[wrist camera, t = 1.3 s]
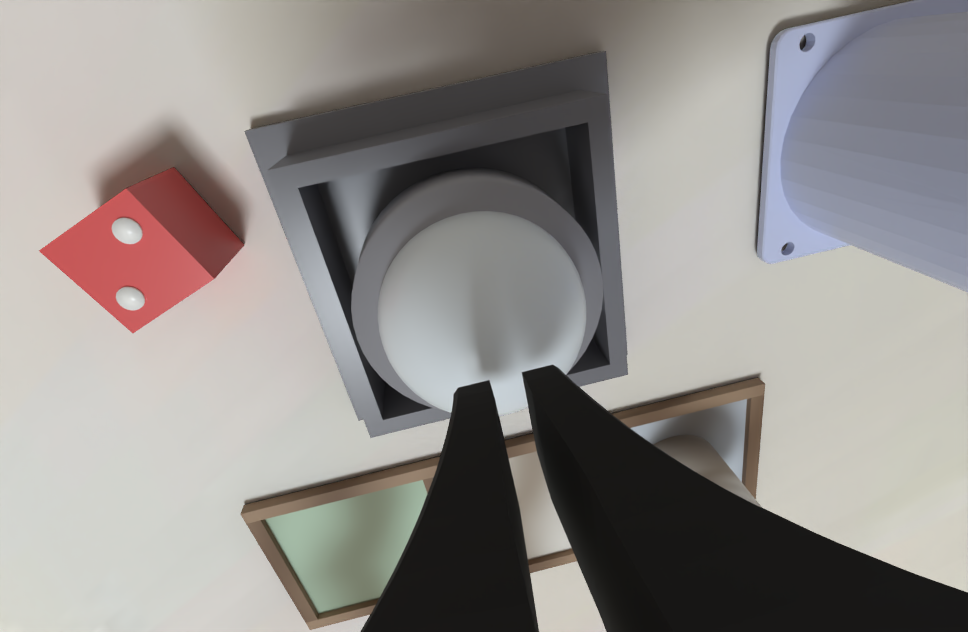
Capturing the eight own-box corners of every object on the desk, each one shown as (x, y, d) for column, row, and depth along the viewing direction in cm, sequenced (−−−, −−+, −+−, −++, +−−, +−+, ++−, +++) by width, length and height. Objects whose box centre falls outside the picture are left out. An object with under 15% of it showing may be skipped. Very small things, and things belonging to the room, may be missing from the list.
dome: (562, 140, 15) (641, 178, 10) (585, 341, 18) (653, 446, 13) (327, 193, 15) (287, 260, 10) (393, 388, 18) (389, 513, 13)
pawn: (717, 425, 23) (836, 561, 17) (715, 492, 25) (821, 637, 19) (625, 448, 23) (710, 595, 17) (630, 514, 25) (708, 668, 19)
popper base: (599, 51, 16) (638, 49, 13) (621, 347, 21) (653, 388, 18) (250, 129, 15) (217, 142, 13) (360, 411, 20) (352, 463, 18)
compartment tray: (757, 377, 23) (765, 383, 22) (748, 507, 26) (754, 515, 26) (243, 505, 22) (240, 514, 21) (311, 620, 26) (310, 630, 25)
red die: (173, 167, 16) (124, 188, 13) (244, 244, 17) (213, 279, 14) (100, 219, 16) (37, 251, 13) (174, 291, 17) (131, 334, 15)
